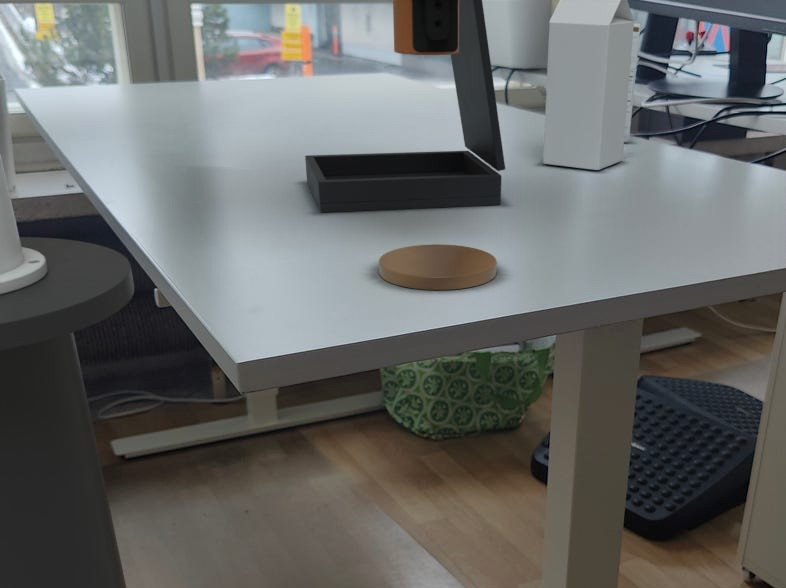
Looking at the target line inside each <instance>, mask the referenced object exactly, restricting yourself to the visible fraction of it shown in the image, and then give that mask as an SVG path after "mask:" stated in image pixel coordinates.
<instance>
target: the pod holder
mask: <svg viewBox="0 0 786 588" xmlns="http://www.w3.org/2000/svg"><path fill="white" fill-rule="evenodd" d="M304 158H305V160H304V161H305V172H306V173H305V174H306V184H307V185H308V188H309V190H310V192H311V194H312V196H313V199H314V201H315V203H316V206H317V207H318V211H319V212H320V213H341V212H342V213H343V212H344V213H345V212H365V211H366V212H367V211H388V210H409V209H410V210H411V209H412V210H413V209H414V210H415V209H433V208H435V209H436V208H456V207H457V208H458V207H479V206H480V207H481V206H483V207H484V206H500V205H501V203H502V197H501V196H502V175H501V174H500V173H498V171H497V170H496V169H494V168H493V167H492V166H490V165H489V164H488V163H486V162H485V161H484V160H482V159H481V158H480V157H478V156H477V155H476V154H474V153H473V152H472V151H470V150H443V151H441V150H440V151H412V152H411V151H407V152H406V151H405V152H379V153H373V152H372V153H345V154H343V153H342V154H341V153H340V154H312V155H310V154H307V155H304Z"/></svg>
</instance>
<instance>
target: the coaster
mask: <svg viewBox="0 0 786 588" xmlns="http://www.w3.org/2000/svg"><path fill="white" fill-rule="evenodd" d="M497 263H498V261H497V259H496V257H495V256H494V255H493V254H492V253H489V252H487V251H485V250H483V249H479V248H475V247H471V246H465V245H456V244H440V243H439V244H436V243H435V244H417V245H410V246H404V247H400V248H396V249H393V250H390V251H388V252H387V251H386V252H385V253H383V254H382V255H381V256H380V257H379V260H378V271H379V276H380V277H381V278H382V279H383V280H384V281H386V282H388V283H390V284H393V285H397V286H399V287H403V288H409V289H416V290H424V291H425V290H426V291H449V290H450V291H452V290H462V289H468V288H473V287H477V286H481V285H484V284H487V283H488V282H490V281H492V280H493V279H494V278H495V277H496V276H497V265H498V264H497Z"/></svg>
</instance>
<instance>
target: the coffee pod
mask: <svg viewBox="0 0 786 588" xmlns="http://www.w3.org/2000/svg"><path fill="white" fill-rule="evenodd" d="M392 17H393V19H392V20H393V51H394V53H396V54H402V55H411V56H412V55H413V56H449V55H450V56H451V54H457V53H459V0H458V48H457V50H456V51H454V52H417V51H415V50H414V49H413V40H412V0H392Z"/></svg>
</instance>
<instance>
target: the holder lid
mask: <svg viewBox="0 0 786 588" xmlns="http://www.w3.org/2000/svg"><path fill="white" fill-rule="evenodd" d="M487 33H488V32H487V26H486V19H485V11H484V3H483V0H459V53H457V54H450V61H451V66H452V72H453V79H454V86H455V91H456V92H455V93H456V96H457V97H456V98H457V103H458V111H459V116H460V124H461V130H462V136H463V142H464V147H465V148H466V149H468V151H469V152H471V153H472V154H473V155H475V156H476V157H477V158H479V159H480V160H481V161H483V162H484V163H485V164H487V165H488V166H489V167H491V168H492V169H493V170H495V171H496V172H501V171H505V170H506V164H505V157H504V150H503V149H504V148H503V142H502V136H501V135H502V134H501V128H500V127H501V126H500V121H499V120H500V119H499V114H498V113H499V112H498V105H497V99H496V92H495V83H494V77H493V69H492V62H491V61H492V60H491V55H490V47H489V42H488V41H489V40H488V34H487Z"/></svg>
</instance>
